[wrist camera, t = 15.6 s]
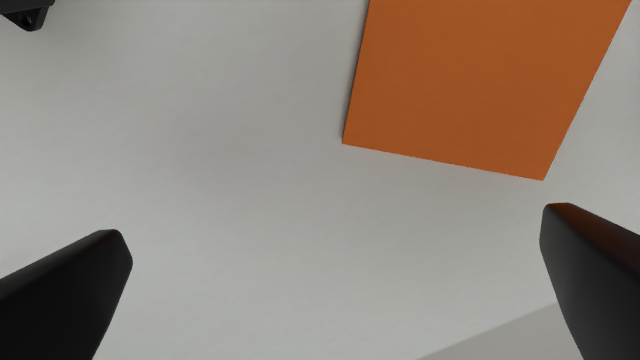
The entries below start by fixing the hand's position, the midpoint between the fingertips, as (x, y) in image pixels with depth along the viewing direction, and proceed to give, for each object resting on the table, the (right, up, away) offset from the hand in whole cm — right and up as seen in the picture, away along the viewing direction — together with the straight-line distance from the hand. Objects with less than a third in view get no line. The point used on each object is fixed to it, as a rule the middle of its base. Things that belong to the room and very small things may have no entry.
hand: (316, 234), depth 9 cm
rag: (+7, +8, +8) cm, 14 cm away
